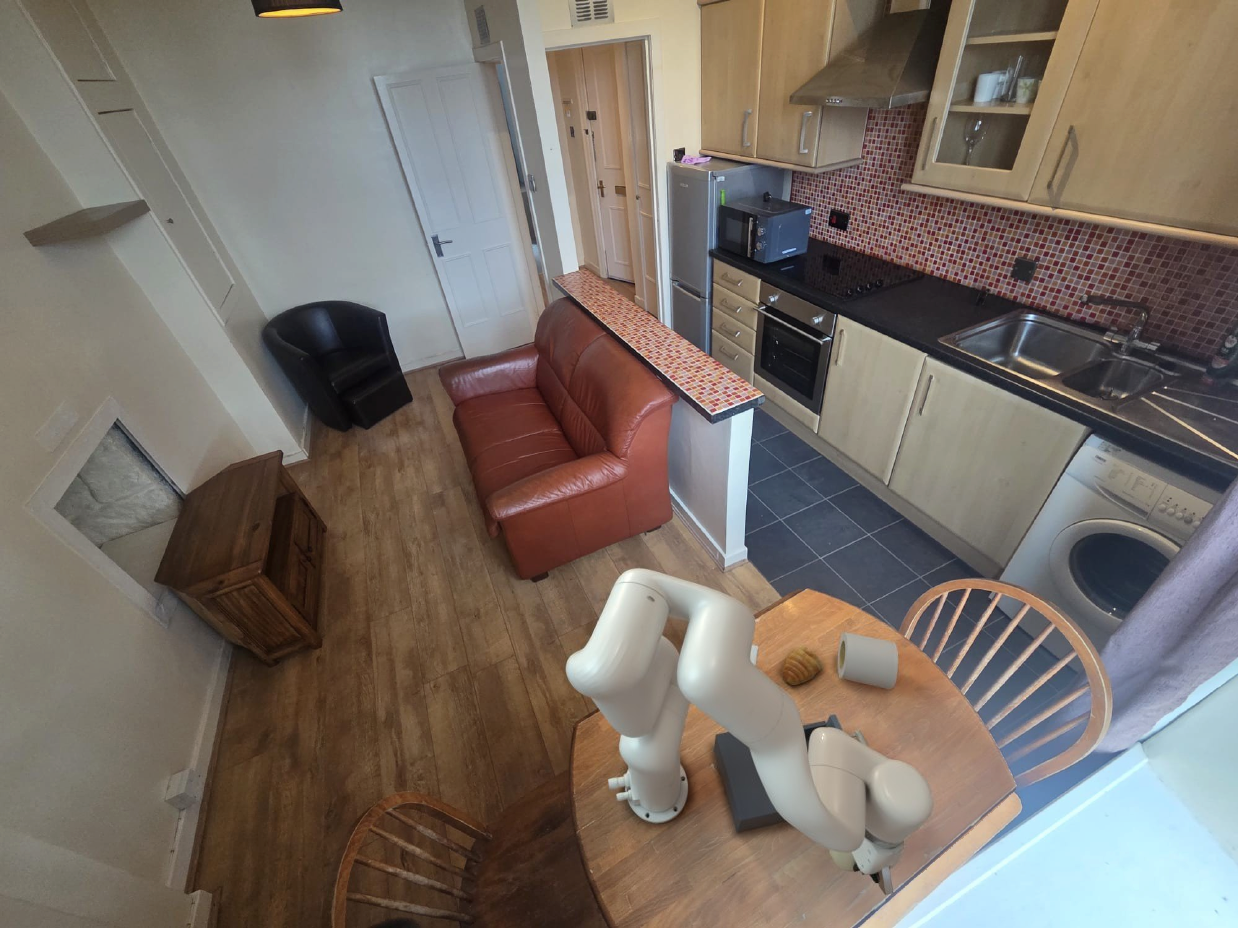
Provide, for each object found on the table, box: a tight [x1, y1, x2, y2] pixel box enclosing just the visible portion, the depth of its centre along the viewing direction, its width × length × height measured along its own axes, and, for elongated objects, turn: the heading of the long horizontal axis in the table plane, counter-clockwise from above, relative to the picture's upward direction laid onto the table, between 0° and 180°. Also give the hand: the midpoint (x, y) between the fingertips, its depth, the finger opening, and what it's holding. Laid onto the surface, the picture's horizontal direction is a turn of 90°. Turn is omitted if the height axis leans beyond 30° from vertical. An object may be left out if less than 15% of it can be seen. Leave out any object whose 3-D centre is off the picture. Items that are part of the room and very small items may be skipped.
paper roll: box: [828, 849, 856, 873], centre depth 85 cm, size 6×6×12 cm
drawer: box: [802, 713, 870, 752], centre depth 100 cm, size 17×13×7 cm
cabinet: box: [713, 731, 788, 833], centre depth 99 cm, size 14×15×9 cm
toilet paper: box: [837, 631, 899, 691], centre depth 113 cm, size 10×10×10 cm
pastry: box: [781, 646, 823, 686], centre depth 116 cm, size 9×7×4 cm
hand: (852, 843), depth 85 cm, fingers closed on paper roll, 5 cm apart
